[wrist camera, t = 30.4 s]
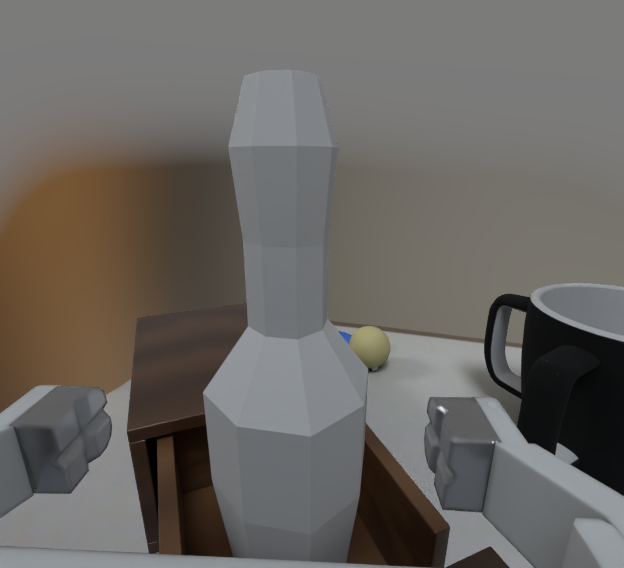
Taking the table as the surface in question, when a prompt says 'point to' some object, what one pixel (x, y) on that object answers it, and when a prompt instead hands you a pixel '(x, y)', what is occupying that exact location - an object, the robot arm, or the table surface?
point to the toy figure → (369, 345)
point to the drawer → (367, 526)
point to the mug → (567, 373)
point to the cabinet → (173, 387)
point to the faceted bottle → (286, 341)
